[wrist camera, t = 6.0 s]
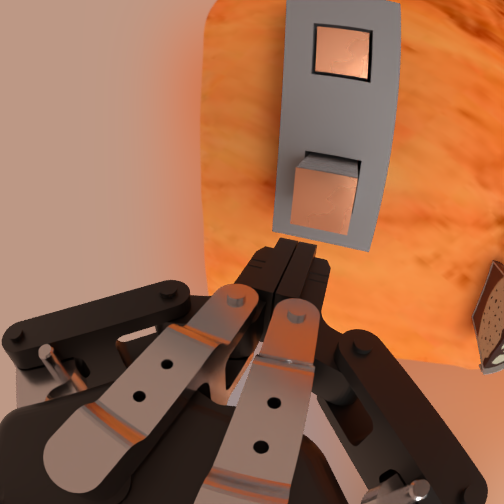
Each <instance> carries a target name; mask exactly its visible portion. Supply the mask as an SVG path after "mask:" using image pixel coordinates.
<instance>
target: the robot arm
mask: <svg viewBox="0 0 504 504" xmlns="http://www.w3.org/2000/svg"><path fill="white" fill-rule="evenodd" d="M316 249H317V245H313V244H309V243H304V242H299V243H298V241H295V240H290V239H285V238H280V239H279V241H278V242H277V244H276V246H275V247H274V248H270V247H266V246H265V247H264V248H262V249H260V250H258V251H256V253H255V254H254V255H253V257H252V258H251V260H250V261H249V263H248V264H247V266H246V267H245V268H244V270H243V271H242V273H241V274H240V276H239V277H238V278H237V280H236V281H235V283H234V284H228V285H225V286H223V287H221V288H219V289H218V290H217V291H216V292H215V293H214V294H213V295H212V296H194V295H190V290H189V287H188V286H187V285H186V284H185V283H183V282H180V281H176V280H166V281H162V282H158V283H155V284H151V285H148V286H144V287H141V288H137V289H134V290H130V291H127V292H124V293H120V294H116V295H113V296H109V297H106V298H102V299H99V300H95V301H92V302H88V303H85V304H81V305H78V306H74V307H71V308H67V309H63V310H60V311H56V312H53V313H49V314H45V315H42V316H39V317H35V318H32V319H28V320H24V321H20V322H17V323H15V324H13V325H12V326H10V327H9V328H8V329H7V330H6V332H5V333H4V335H3V338H2V346H3V348H4V350H5V351H6V353H7V354H8V355H9V357H10V358H11V360H12V361H13V363H14V365H15V367H16V398H17V409H15V410H13V411H12V412H10V413H9V414H7V415H6V416H5V417H4V419H3V420H2V422H1V423H0V504H348V502H347V500H346V498H345V496H344V494H343V492H342V490H341V488H340V486H339V484H338V482H337V480H336V478H335V476H334V474H333V472H332V470H331V468H330V466H329V464H328V462H327V460H326V458H325V456H324V454H323V453H322V452H321V450H320V449H319V448H318V447H317V445H316V444H315V443H314V442H313V441H311V440H310V439H309V438H308V437H307V436H305V435H304V434H303V431H304V426H305V422H306V416H307V412H308V406H309V401H310V396H311V392H313V393H314V394H316V395H317V400H318V402H319V404H320V406H321V408H322V410H323V411H324V413H325V415H326V417H327V419H328V420H329V422H330V424H331V426H332V427H333V429H334V431H335V433H336V435H337V436H338V438H339V440H340V442H341V443H342V445H343V447H344V448H345V450H346V452H347V453H348V455H349V457H350V459H351V461H352V462H353V464H354V466H355V467H356V469H357V471H358V473H359V474H360V476H361V478H362V479H363V481H364V483H365V485H366V486H367V488H368V489H369V490H368V492H367V493H366V494H365V495H364V497H363V498H362V501H361V504H485V502H486V499H487V494H488V488H487V484H486V481H485V479H484V478H483V476H482V475H481V473H480V472H479V471H478V469H477V467H476V466H475V464H474V463H473V461H472V460H471V459H470V457H469V456H468V454H467V453H466V451H465V450H464V448H463V447H462V446H461V444H460V443H459V442H458V440H457V439H456V437H455V436H454V435H453V433H452V432H451V430H450V429H449V428H448V426H447V425H446V424H445V422H444V421H443V419H442V418H441V417H440V415H439V414H438V413H437V411H436V410H435V409H434V407H433V406H432V405H431V403H430V402H429V401H428V399H427V398H426V397H425V396H424V394H423V393H422V392H421V390H420V389H419V388H418V386H417V385H416V384H415V383H414V381H413V380H412V379H411V378H410V376H409V375H408V374H407V372H406V371H405V370H404V369H403V367H402V366H401V365H400V364H399V362H398V361H397V360H396V359H395V357H394V356H393V355H392V354H391V352H390V351H389V350H388V349H387V348H386V346H385V345H384V344H383V343H382V341H381V340H380V339H379V338H378V337H377V336H376V335H374V334H373V333H371V332H368V331H365V330H361V329H354V330H349V331H347V332H345V333H344V334H342V333H340V332H338V331H336V330H334V329H332V328H331V327H330V326H328V325H327V324H326V322H325V321H324V320H323V318H322V315H321V309H322V305H323V301H324V296H325V292H326V287H327V283H328V278H329V273H330V269H331V268H330V266H329V264H328V261H327V260H325V259H320V258H316V257H315V254H316ZM152 326H155V328H156V331H157V332H156V333H153V334H150V335H147V336H144V337H140V338H137V339H134V340H131V341H128V342H120V341H118V340H117V339H118V338H119V337H121V336H123V335H126V334H130V333H133V332H136V331H140V330H142V329H146V328H149V327H152ZM259 341H260V342H263V345H262V348H261V351H260V353H259V355H258V354H257V355H256V356H255V358H254V360H253V363H252V366H251V369H250V371H249V374H248V377H247V379H246V382H245V385H244V388H243V390H242V393H241V396H240V398H239V401H238V404H237V406H236V407H235V406H227V402H228V399H229V397H230V395H231V393H232V392H233V390H234V389H235V387H236V385H237V384H238V382H239V380H240V379H241V377H242V375H243V374H244V372H245V370H246V369H247V367H248V366H249V364H250V362H251V360H252V359H253V356H254V351H255V349H256V347H257V345H258V343H259Z"/></svg>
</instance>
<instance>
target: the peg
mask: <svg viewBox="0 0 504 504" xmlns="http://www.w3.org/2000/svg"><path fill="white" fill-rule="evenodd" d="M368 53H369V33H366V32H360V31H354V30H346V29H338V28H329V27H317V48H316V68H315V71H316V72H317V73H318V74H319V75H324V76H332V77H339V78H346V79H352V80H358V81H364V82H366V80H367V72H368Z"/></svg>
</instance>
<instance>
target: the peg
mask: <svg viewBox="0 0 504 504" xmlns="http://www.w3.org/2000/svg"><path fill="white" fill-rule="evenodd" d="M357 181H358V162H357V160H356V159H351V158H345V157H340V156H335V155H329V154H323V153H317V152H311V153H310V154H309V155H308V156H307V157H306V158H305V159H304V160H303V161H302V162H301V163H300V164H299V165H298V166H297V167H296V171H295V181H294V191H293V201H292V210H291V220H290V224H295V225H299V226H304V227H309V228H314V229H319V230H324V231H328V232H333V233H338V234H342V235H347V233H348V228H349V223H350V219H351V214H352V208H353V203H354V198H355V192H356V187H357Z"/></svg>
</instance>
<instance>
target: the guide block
mask: <svg viewBox="0 0 504 504" xmlns="http://www.w3.org/2000/svg"><path fill="white" fill-rule="evenodd" d="M317 27H329V28H338V29H346V30H354V31H360V32H366V33H369V59H368V77H367V82H364V81H358V80H352V79H346V78H339V77H332V76H324V75H319V74H318V73H317V72H316V71H315V68H316V48H317ZM400 55H401V9H400V3H395V2H391V1H386V0H287V2H286V28H285V49H284V69H283V87H282V104H281V121H280V136H279V151H278V165H277V178H276V191H275V204H274V217H273V229H272V231H273V232H278V233H283V234H287V235H292V236H297V237H302V238H307V239H311V240H316V241H321V242H325V243H330V244H335V245H339V246H344V247H348V248H353V249H357V250H362V251H366V252H369V250H370V246H371V242H372V238H373V235H374V231H375V227H376V223H377V218H378V214H379V210H380V205H381V201H382V196H383V191H384V187H385V181H386V176H387V171H388V165H389V160H390V154H391V147H392V141H393V134H394V126H395V118H396V110H397V100H398V89H399V75H400ZM311 152H317V153H323V154H329V155H335V156H340V157H345V158H351V159H356V160H358V181H357V187H356V192H355V198H354V203H353V208H352V214H351V219H350V223H349V228H348V233H347V235H342V234H338V233H333V232H328V231H324V230H319V229H314V228H309V227H304V226H299V225H295V224H290V220H291V210H292V201H293V191H294V181H295V171H296V167H297V166H298V165H299V164H300V163H301V162H302V161H303V160H304V159H305V158H306V157H307V156H308V155H309V154H310V153H311Z"/></svg>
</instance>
